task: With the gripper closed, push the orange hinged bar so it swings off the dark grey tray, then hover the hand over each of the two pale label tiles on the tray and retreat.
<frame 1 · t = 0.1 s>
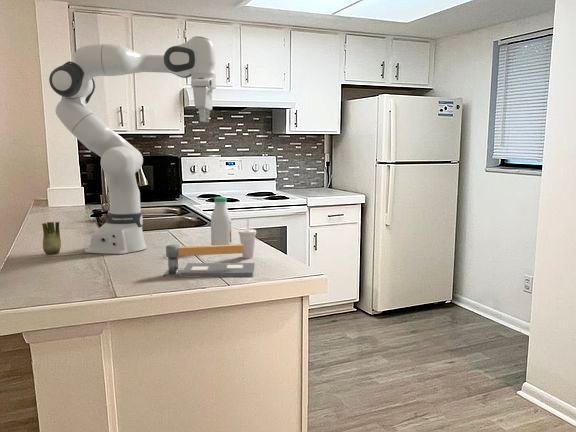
hand: (204, 122, 187), 48 cm above the countertop, tool pointing down, fingers open, 8 cm apart
pivot post: (173, 274, 159), on the countertop
milk bottle: (221, 249, 195), on the countertop
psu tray: (219, 271, 162), on the countertop
smoothie: (247, 257, 181), on the countertop
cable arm: (205, 249, 160), point 7 cm above the countertop, hinge at 0.0°
fennel bulb: (52, 254, 186), on the countertop
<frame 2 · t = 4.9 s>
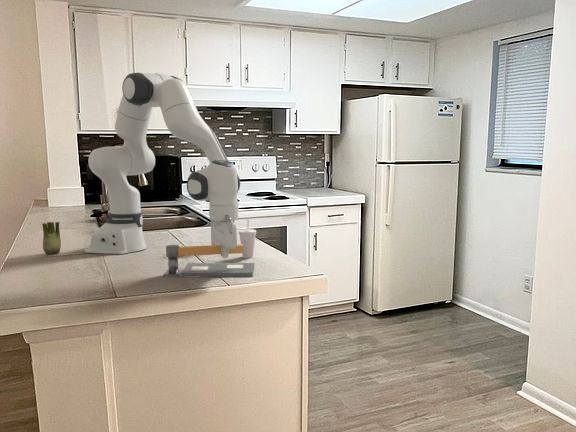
hand: (224, 257, 158), 6 cm above the countertop, tool pointing down, fingers closed
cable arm: (205, 249, 160), point 7 cm above the countertop, hinge at 0.0°, touching gripper
everything else where it was.
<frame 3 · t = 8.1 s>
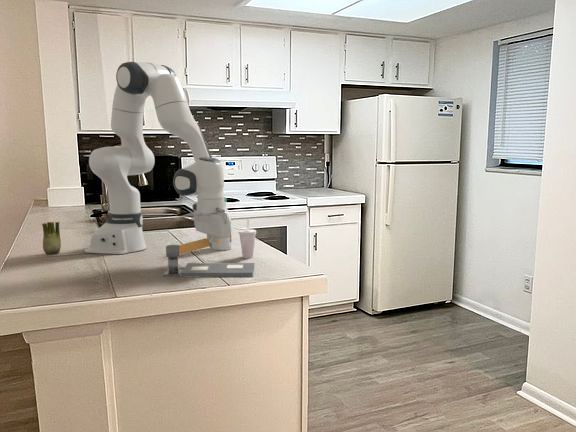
hand: (212, 247, 170), 6 cm above the countertop, tool pointing down, fingers closed
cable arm: (194, 245, 166), point 7 cm above the countertop, hinge at 46.8°, touching gripper
everything else where it was.
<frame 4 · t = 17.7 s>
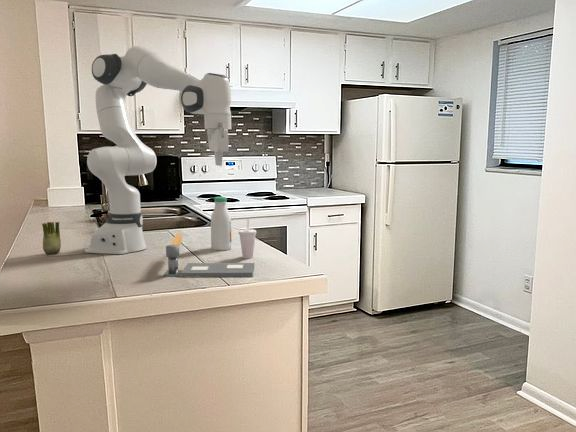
hand: (218, 165, 170), 33 cm above the countertop, tool pointing down, fingers closed
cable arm: (175, 244, 168), point 7 cm above the countertop, hinge at 86.1°
everything else where it was.
at the end: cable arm at +86° (first picture: +0°) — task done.
